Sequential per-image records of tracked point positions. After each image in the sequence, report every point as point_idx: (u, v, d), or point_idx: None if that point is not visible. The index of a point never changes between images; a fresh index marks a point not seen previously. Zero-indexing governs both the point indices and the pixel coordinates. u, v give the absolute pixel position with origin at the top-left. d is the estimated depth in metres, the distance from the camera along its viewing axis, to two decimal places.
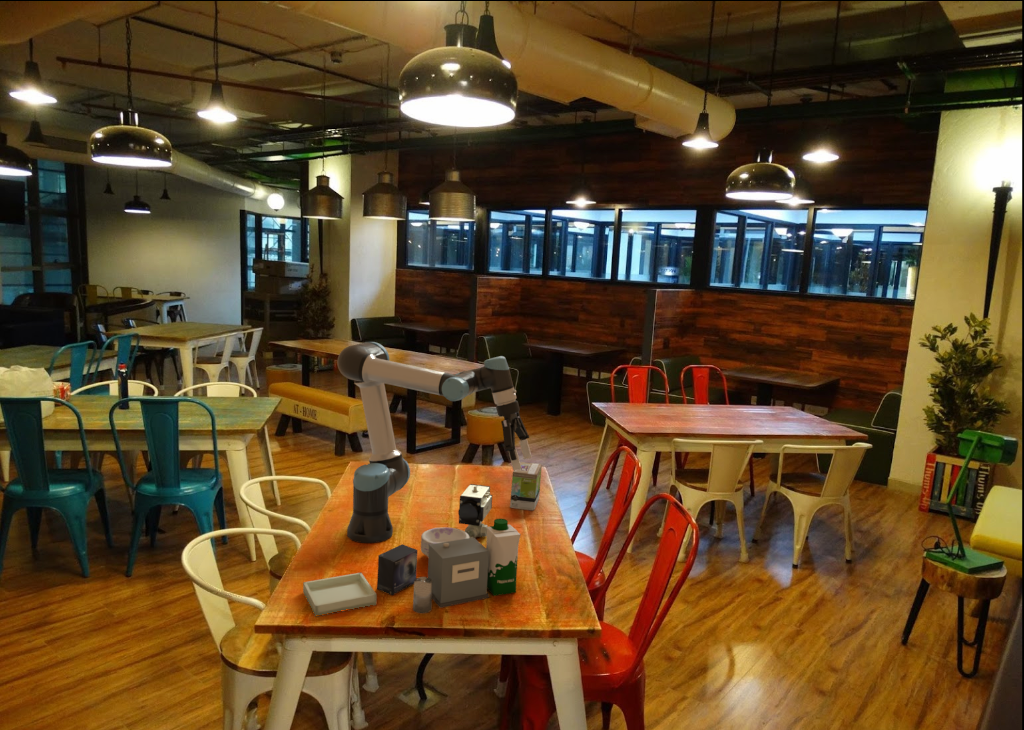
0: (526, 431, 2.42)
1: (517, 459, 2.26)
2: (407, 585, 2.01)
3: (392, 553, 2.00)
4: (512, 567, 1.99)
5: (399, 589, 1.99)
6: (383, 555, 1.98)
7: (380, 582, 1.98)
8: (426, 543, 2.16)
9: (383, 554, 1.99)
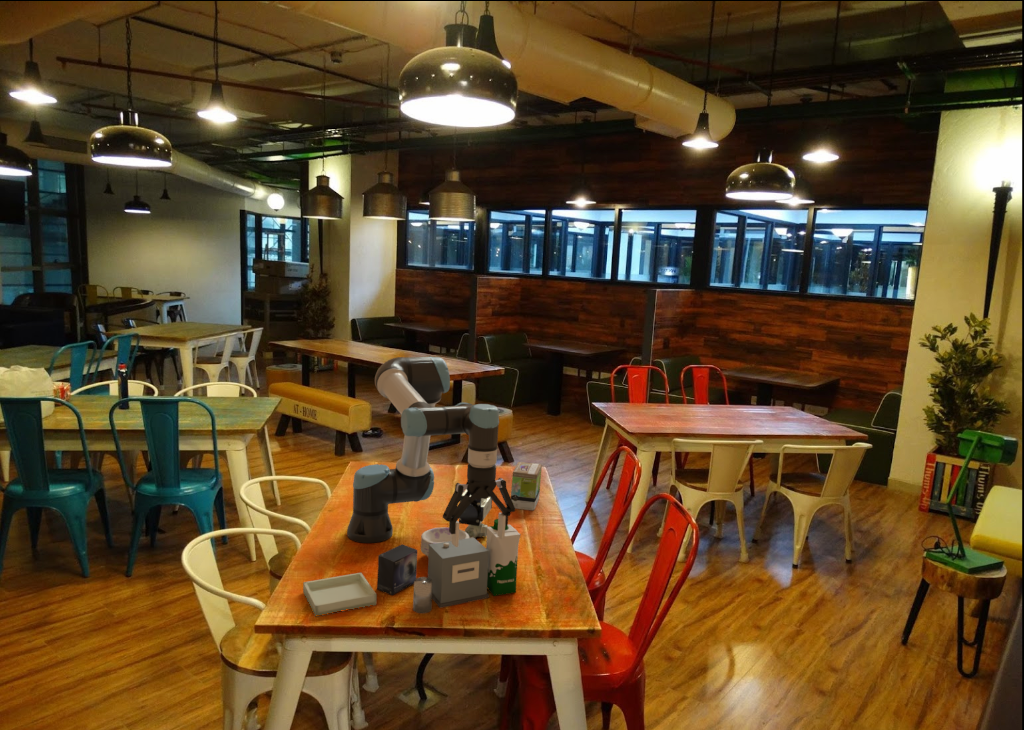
0: (513, 506, 1.88)
1: (455, 534, 1.81)
2: (407, 585, 2.01)
3: (392, 553, 2.00)
4: (512, 567, 1.99)
5: (399, 589, 1.99)
6: (383, 555, 1.98)
7: (380, 582, 1.98)
8: (426, 543, 2.16)
9: (383, 554, 1.99)
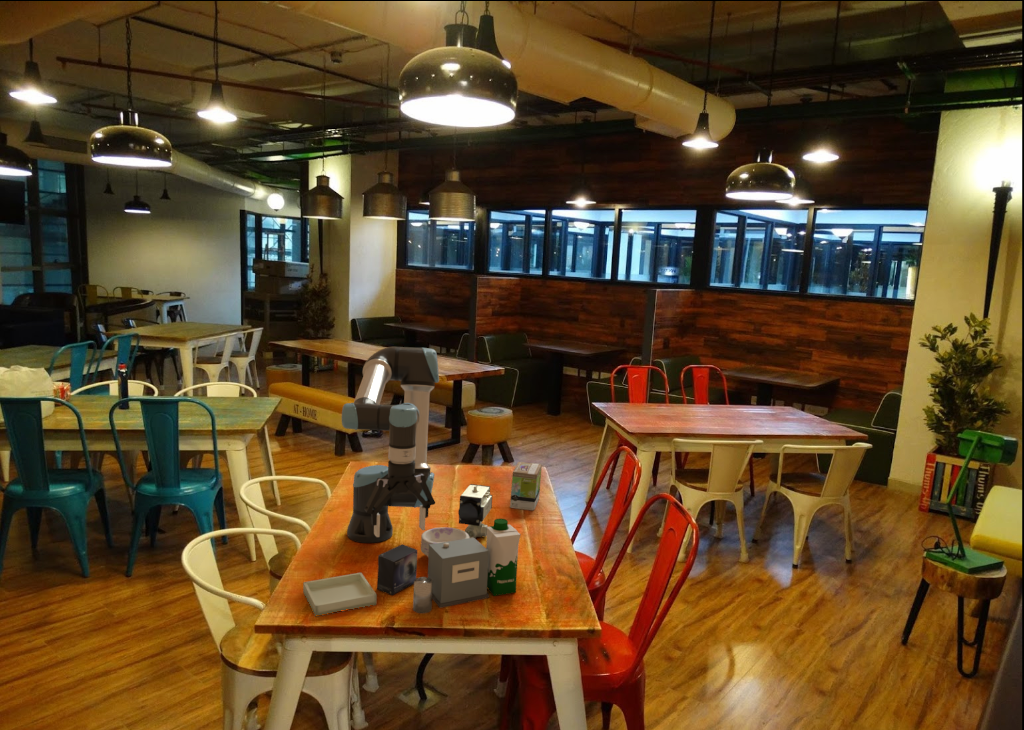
0: (432, 500, 2.02)
1: (376, 526, 1.95)
2: (407, 585, 2.01)
3: (392, 553, 2.00)
4: (512, 567, 1.99)
5: (399, 589, 1.99)
6: (383, 555, 1.98)
7: (380, 582, 1.98)
8: (426, 543, 2.16)
9: (383, 554, 1.99)
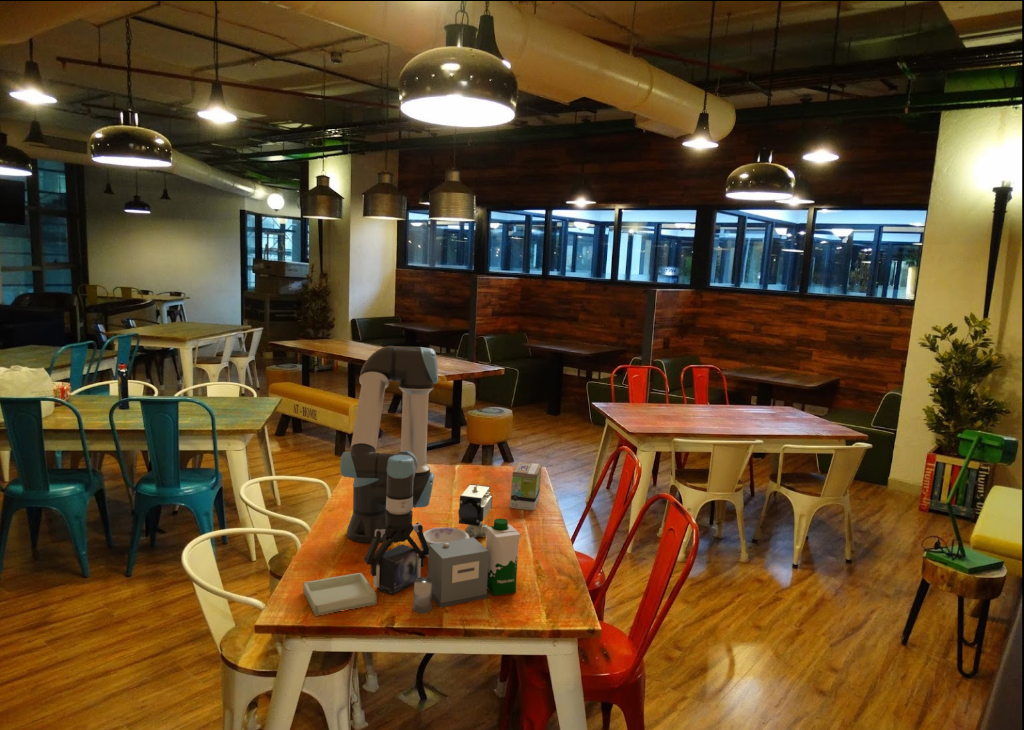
0: (428, 550, 2.04)
1: (376, 576, 1.97)
2: (407, 585, 2.01)
3: (392, 553, 2.00)
4: (512, 567, 1.99)
5: (399, 589, 1.99)
6: (383, 555, 1.98)
7: (380, 582, 1.98)
8: None
9: None
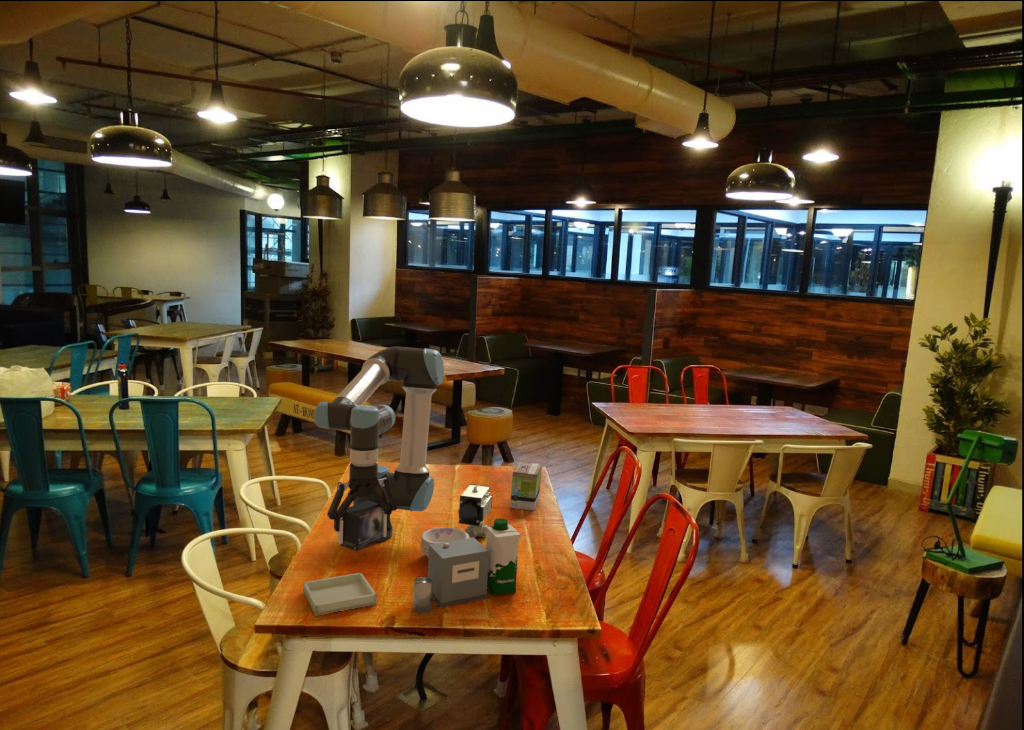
0: (394, 505, 1.96)
1: (339, 532, 1.89)
2: (373, 542, 1.93)
3: (356, 508, 1.91)
4: (512, 567, 1.99)
5: (364, 545, 1.90)
6: (347, 510, 1.90)
7: (344, 538, 1.90)
8: (426, 543, 2.16)
9: (347, 509, 1.90)
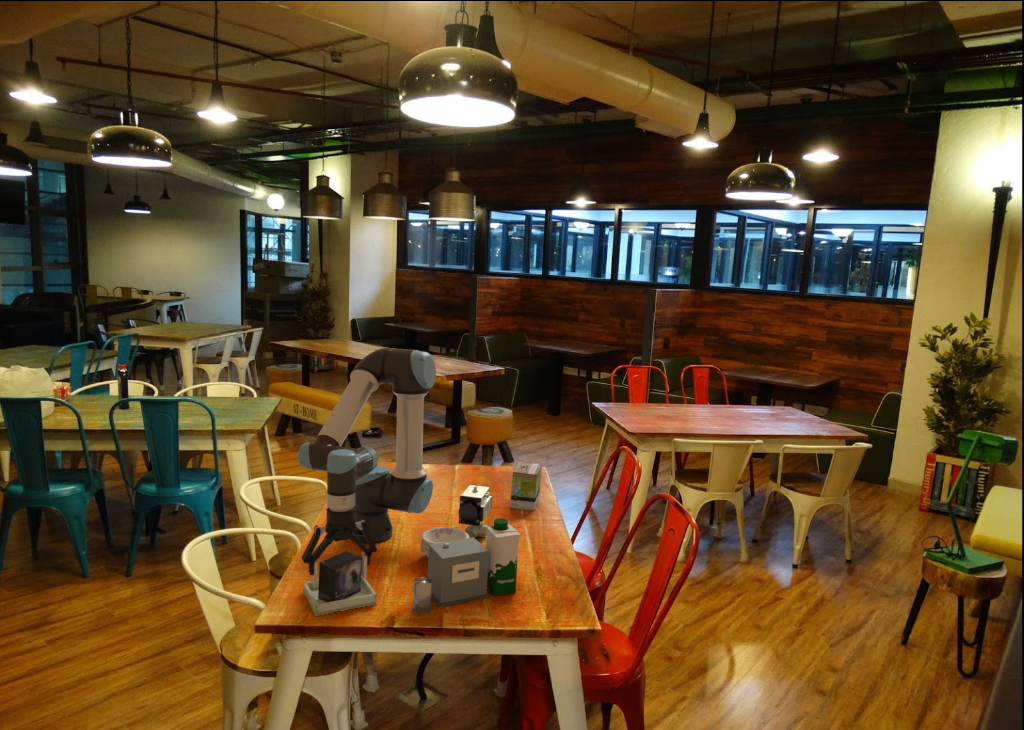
0: (374, 547, 1.95)
1: (314, 575, 1.88)
2: (350, 594, 1.92)
3: (334, 560, 1.91)
4: (512, 567, 1.99)
5: (341, 598, 1.90)
6: (324, 562, 1.89)
7: (321, 591, 1.89)
8: (426, 543, 2.16)
9: (324, 561, 1.90)
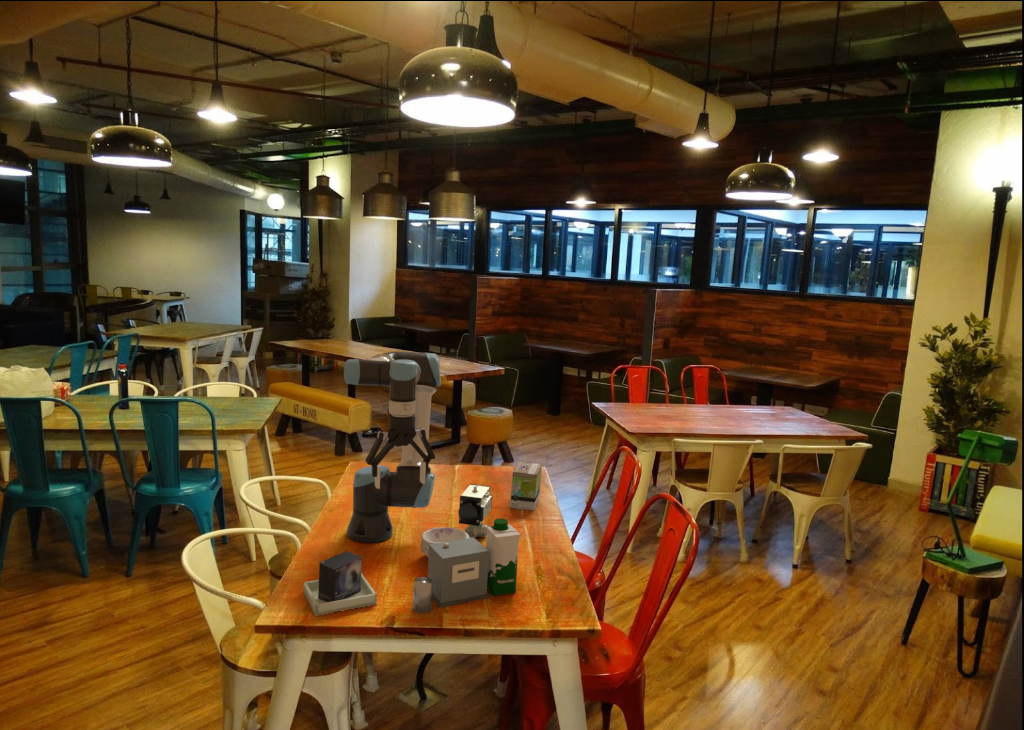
0: (433, 454, 2.06)
1: (377, 477, 2.00)
2: (350, 594, 1.92)
3: (334, 560, 1.91)
4: (512, 567, 1.99)
5: (341, 598, 1.90)
6: (324, 562, 1.89)
7: (321, 591, 1.89)
8: (426, 543, 2.16)
9: (324, 561, 1.90)
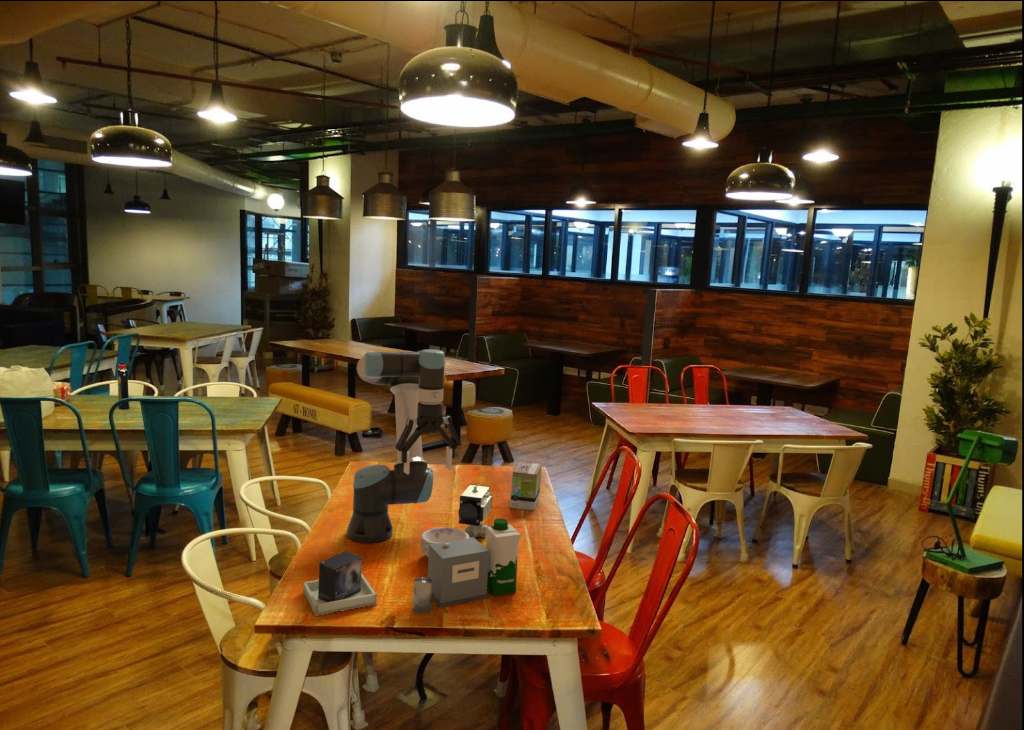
0: (459, 441, 2.13)
1: (406, 463, 2.06)
2: (350, 594, 1.92)
3: (334, 560, 1.91)
4: (512, 567, 1.99)
5: (341, 598, 1.90)
6: (324, 562, 1.89)
7: (321, 591, 1.89)
8: (426, 543, 2.16)
9: (324, 561, 1.90)
